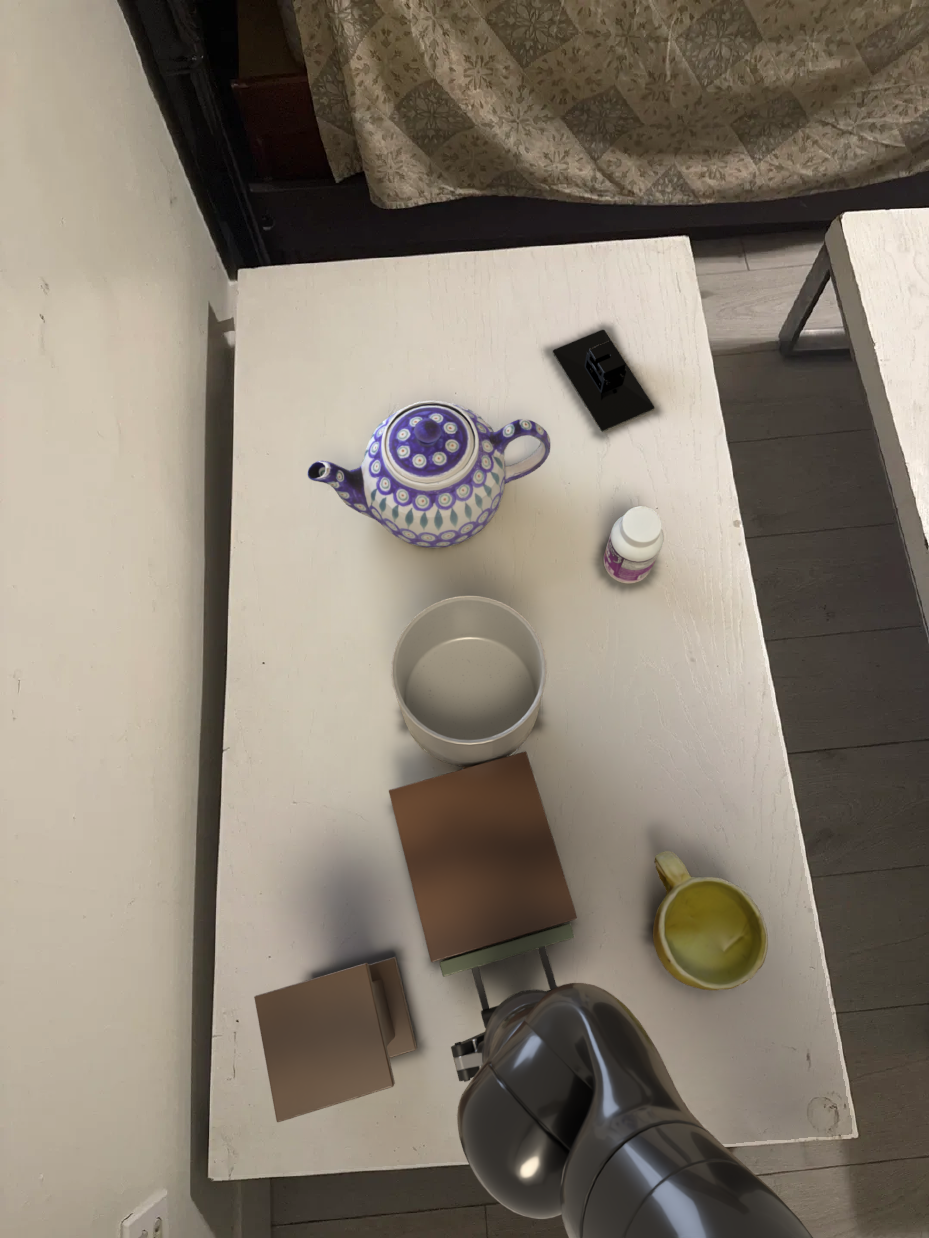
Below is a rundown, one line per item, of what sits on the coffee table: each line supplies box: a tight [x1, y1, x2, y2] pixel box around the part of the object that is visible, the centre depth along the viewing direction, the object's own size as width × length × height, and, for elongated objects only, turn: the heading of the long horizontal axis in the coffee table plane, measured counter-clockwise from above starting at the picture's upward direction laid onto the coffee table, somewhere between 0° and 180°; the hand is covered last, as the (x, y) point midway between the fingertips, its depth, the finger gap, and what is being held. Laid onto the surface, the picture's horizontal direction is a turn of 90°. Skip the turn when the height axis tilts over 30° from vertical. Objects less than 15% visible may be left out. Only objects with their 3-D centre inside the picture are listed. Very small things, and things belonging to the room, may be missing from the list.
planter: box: [390, 595, 548, 769], centre depth 81 cm, size 13×13×18 cm
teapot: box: [307, 399, 551, 549], centre depth 91 cm, size 25×15×15 cm, turn 99°
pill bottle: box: [603, 505, 665, 584], centre depth 90 cm, size 5×5×10 cm
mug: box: [652, 850, 769, 991], centre depth 78 cm, size 12×10×10 cm
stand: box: [254, 956, 418, 1123], centre depth 70 cm, size 8×8×22 cm
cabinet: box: [388, 751, 578, 963], centre depth 79 cm, size 15×13×11 cm
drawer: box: [439, 922, 575, 1029], centre depth 78 cm, size 18×11×9 cm, turn 16°
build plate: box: [552, 329, 655, 433], centre depth 101 cm, size 12×7×5 cm, turn 25°
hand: (527, 1028), depth 75 cm, fingers closed
